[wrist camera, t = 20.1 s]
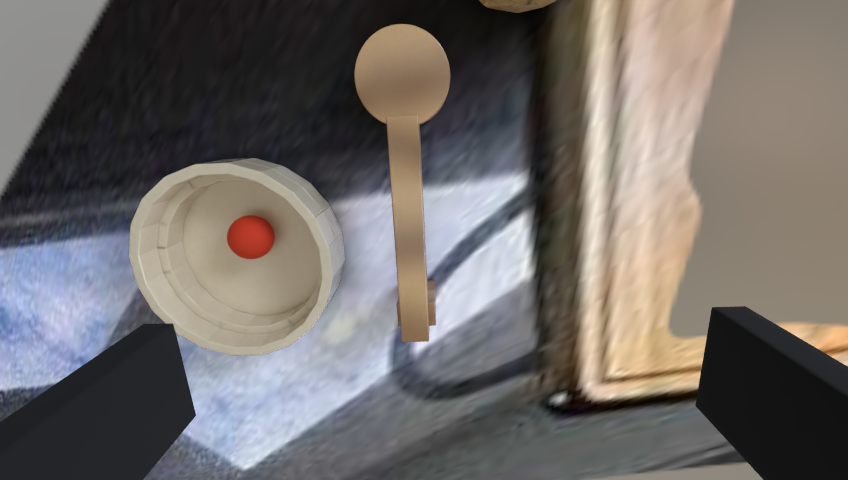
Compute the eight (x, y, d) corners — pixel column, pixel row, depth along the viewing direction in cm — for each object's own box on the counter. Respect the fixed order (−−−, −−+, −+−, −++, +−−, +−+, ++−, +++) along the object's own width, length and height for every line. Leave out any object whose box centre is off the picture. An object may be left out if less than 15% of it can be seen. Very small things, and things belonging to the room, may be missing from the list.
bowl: (152, 162, 34) (105, 168, 29) (335, 153, 33) (318, 158, 28) (191, 328, 38) (155, 358, 33) (353, 323, 37) (341, 353, 32)
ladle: (363, 42, 31) (341, 18, 24) (446, 37, 30) (450, 11, 23) (384, 301, 37) (372, 343, 30) (454, 299, 36) (458, 340, 29)
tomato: (235, 201, 31) (208, 239, 31) (268, 225, 31) (240, 264, 30) (260, 213, 35) (236, 247, 35) (290, 235, 34) (266, 270, 34)
